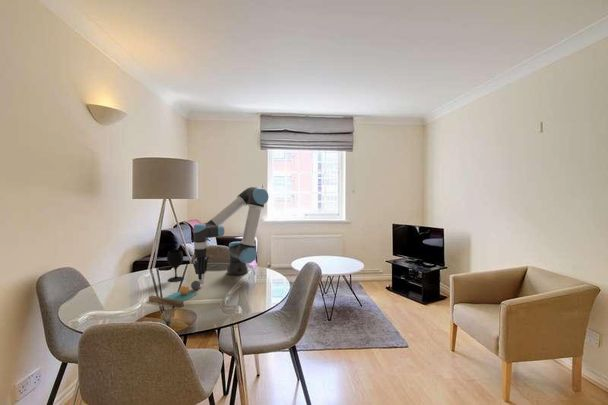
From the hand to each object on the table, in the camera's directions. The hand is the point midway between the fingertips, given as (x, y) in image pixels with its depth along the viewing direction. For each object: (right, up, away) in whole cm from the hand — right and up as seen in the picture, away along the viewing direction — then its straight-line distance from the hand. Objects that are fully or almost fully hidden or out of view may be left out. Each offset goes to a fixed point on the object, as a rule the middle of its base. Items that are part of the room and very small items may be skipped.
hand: (201, 283), depth 203 cm
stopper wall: (-11, -4, -26) cm, 29 cm away
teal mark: (-7, -3, -16) cm, 18 cm away
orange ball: (-6, 0, -14) cm, 15 cm away
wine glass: (-22, -1, +14) cm, 26 cm away
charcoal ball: (-2, 0, -5) cm, 6 cm away
